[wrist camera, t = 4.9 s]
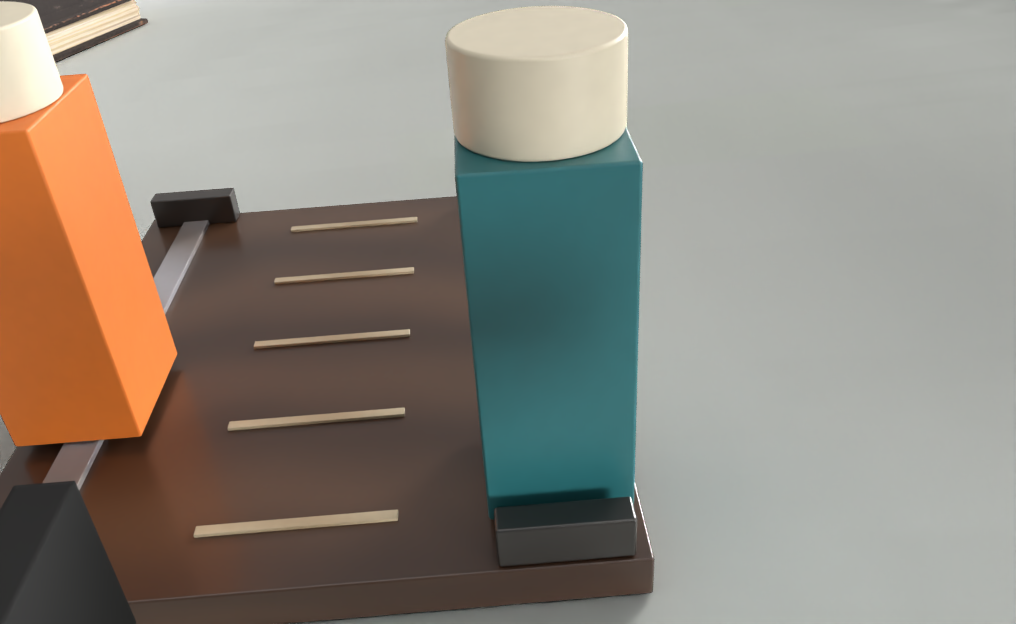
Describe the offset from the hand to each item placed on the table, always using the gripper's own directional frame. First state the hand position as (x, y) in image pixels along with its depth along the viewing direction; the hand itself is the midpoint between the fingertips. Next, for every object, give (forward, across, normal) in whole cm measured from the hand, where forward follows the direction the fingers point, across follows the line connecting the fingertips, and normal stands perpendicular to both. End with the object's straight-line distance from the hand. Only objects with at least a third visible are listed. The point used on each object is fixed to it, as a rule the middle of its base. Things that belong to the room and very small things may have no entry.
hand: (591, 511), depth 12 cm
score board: (+15, -6, -8) cm, 19 cm away
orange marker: (+13, -13, -7) cm, 19 cm away
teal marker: (+9, 0, -7) cm, 11 cm away
